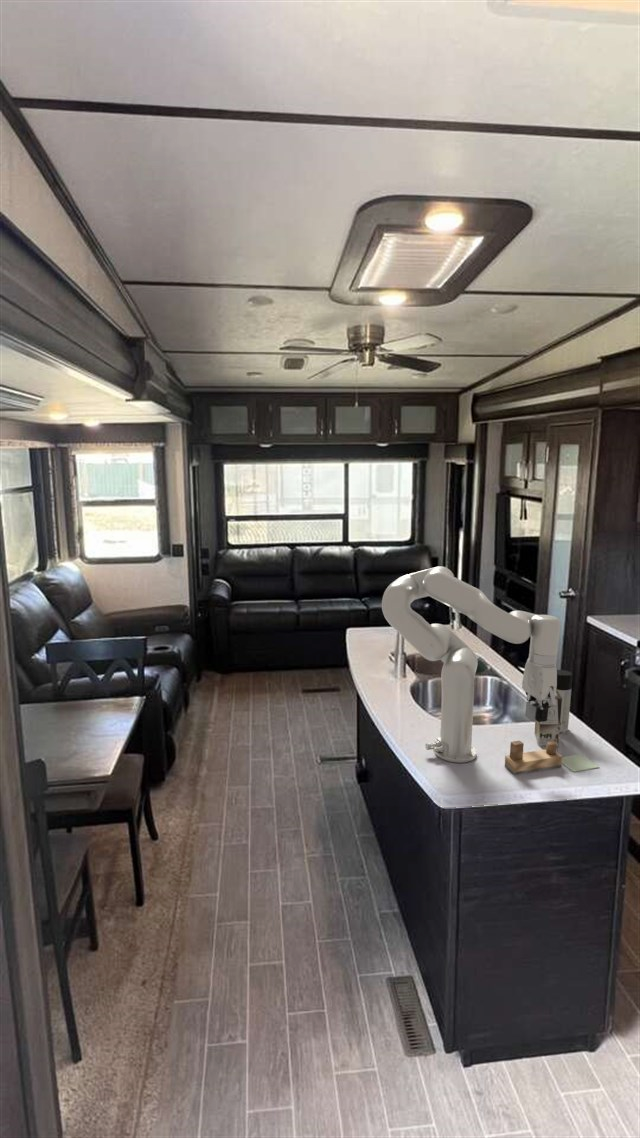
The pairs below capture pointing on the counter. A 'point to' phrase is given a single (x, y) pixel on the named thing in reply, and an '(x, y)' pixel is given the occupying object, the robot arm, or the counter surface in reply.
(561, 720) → the spray can
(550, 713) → the coffee box
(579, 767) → the felt pad
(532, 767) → the wooden peg block
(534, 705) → the lever cap
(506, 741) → the counter surface
